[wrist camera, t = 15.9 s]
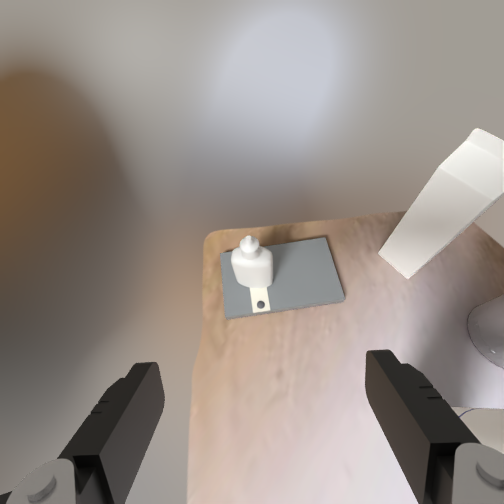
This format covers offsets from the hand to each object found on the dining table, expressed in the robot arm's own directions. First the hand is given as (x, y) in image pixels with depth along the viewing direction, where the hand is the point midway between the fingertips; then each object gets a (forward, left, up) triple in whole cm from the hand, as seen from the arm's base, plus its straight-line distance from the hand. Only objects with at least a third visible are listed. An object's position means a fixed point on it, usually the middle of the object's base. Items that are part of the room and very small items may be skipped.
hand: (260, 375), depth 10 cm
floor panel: (-4, -16, -29) cm, 33 cm away
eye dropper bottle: (0, -16, -27) cm, 32 cm away
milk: (-25, -17, -29) cm, 42 cm away
